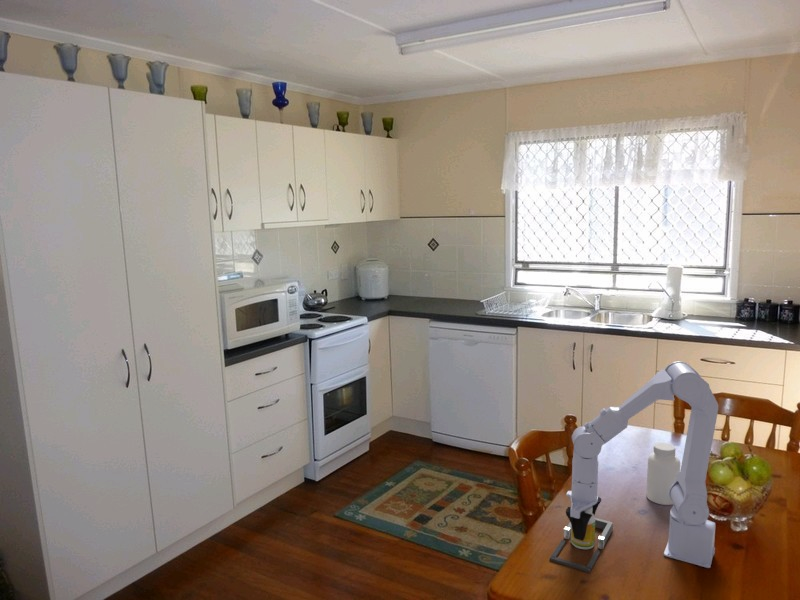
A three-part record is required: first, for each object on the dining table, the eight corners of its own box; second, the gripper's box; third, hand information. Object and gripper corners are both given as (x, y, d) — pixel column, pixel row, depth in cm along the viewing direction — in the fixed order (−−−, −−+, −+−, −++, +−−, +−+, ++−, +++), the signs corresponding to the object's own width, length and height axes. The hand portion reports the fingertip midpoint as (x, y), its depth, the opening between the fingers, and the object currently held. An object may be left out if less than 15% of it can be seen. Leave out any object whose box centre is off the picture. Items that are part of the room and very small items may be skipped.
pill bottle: (645, 503, 161) (648, 449, 158) (646, 489, 168) (648, 438, 165) (678, 508, 158) (682, 454, 155) (677, 494, 165) (680, 442, 162)
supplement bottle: (595, 551, 139) (596, 512, 138) (571, 548, 141) (572, 510, 139) (593, 538, 145) (594, 500, 143) (570, 536, 146) (571, 498, 144)
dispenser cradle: (612, 529, 148) (613, 520, 148) (602, 549, 140) (603, 539, 140) (575, 519, 153) (575, 511, 153) (563, 538, 145) (563, 528, 145)
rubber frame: (600, 553, 139) (600, 550, 138) (589, 572, 132) (589, 570, 131) (561, 542, 143) (561, 539, 143) (549, 560, 136) (549, 557, 136)
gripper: (576, 462, 148) (575, 514, 150) (557, 487, 136) (556, 542, 138) (606, 469, 144) (604, 521, 146) (589, 494, 132) (587, 551, 134)
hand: (583, 532), depth 142 cm, fingers open, 5 cm apart
